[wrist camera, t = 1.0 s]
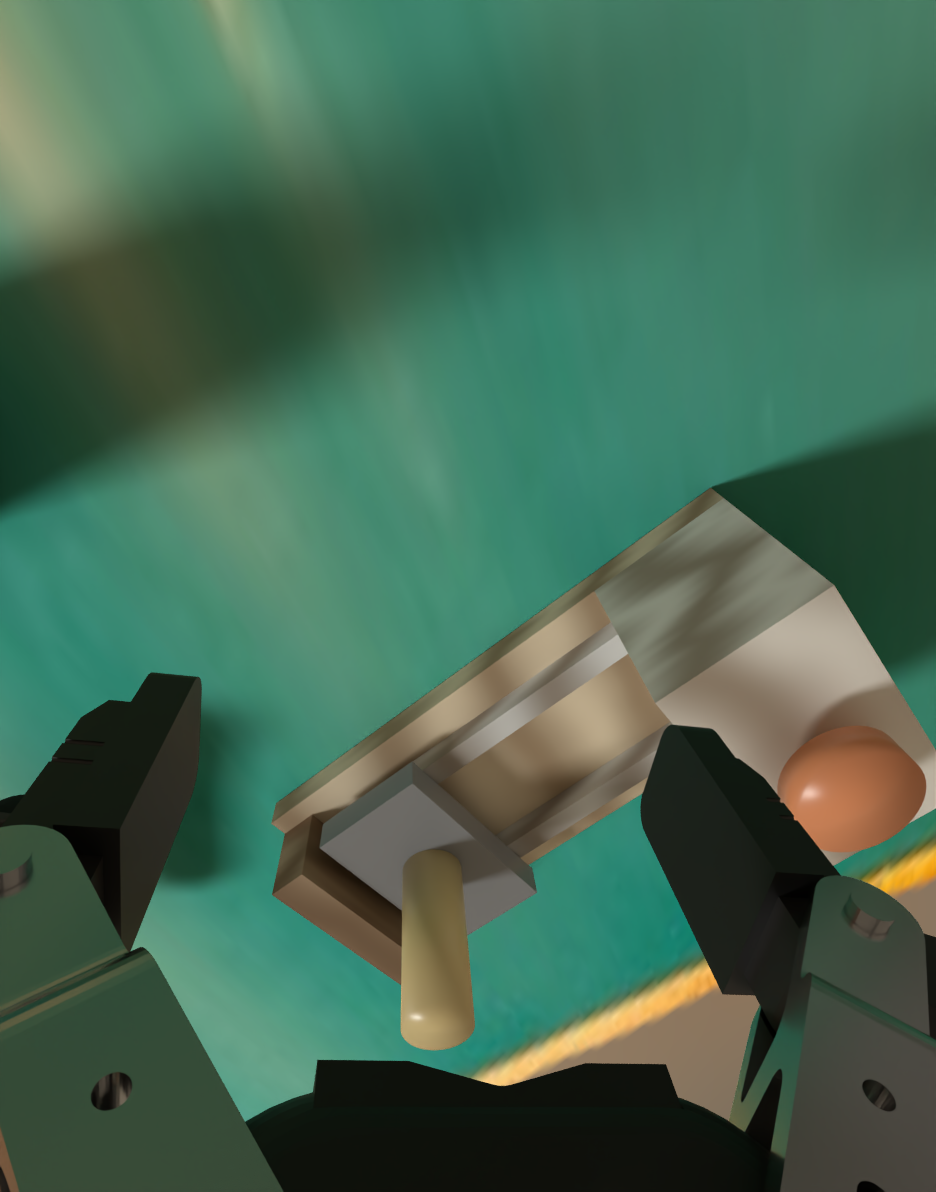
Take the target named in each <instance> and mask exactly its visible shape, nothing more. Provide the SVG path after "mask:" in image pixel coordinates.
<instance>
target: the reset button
mask: <svg viewBox="0 0 936 1192" xmlns="http://www.w3.org/2000/svg"><path fill="white" fill-rule="evenodd" d="M777 793H778V796H779V797H780V802H781V803H784V804H785V805H786V806H787V808H788V809H789V810H790V811H791V813H792V814H793V815H794V820H798V822H799V823H800V824H801V825H802V827H803V828H804V829H805V831H806V832H807V833H808V834H809V836H810V837H811V838H812V839H813V841H814V842H815V843H816V845H817V846H818V847H819V848H820V849H822V850H825V851H830V852H853V851H858V850H863V849H866V848H869V847H872V846H875V845H877V844H880V843H882V842H884V841H886V840H887V839H889V838H891V837H892V836H894V835H895V834H897V833H898V832H899V831H901V830H902V829H903V828H904V827H905V826H906V825H908V823H909V822H910V821H911V820H912V819H913V818H914V817H915V815H916V814H917V813H918V811H919V809H920V808H921V806H922V803H923V801H924V798H925V794H926V779H925V775H924V773H923V771H922V769H921V768H920V767H919V765H918V764H917V763H916V762H915V761H914V760H913V759H912V758H911V757H910V756H909V755H908V754H907V753H906V752H905V751H904V750H903V749H902V748H901V747H900V746H899V745H898V744H897V743H896V742H895V741H894V740H893V739H892V738H891V737H890V736H889V735H887V734H886V733H884V732H883V731H881V730H878V729H876V728H872V727H868V726H846V727H841V728H836V729H833V730H830V731H827V732H825V733H822V734H820V735H818V736H816V737H815V738H813V739H811V740H810V741H808V742H807V743H805V744H804V745H803V746H801V747H800V748H799V749H798V750H797V751H796V752H795V753H794V754H793V755H792V756H791V757H790V758H789V760H788V761H787V762H786V764H785V766H784V767H783V769H782V771H781V773H780V776H779V780H778V785H777Z"/></svg>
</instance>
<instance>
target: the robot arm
mask: <svg viewBox="0 0 936 1192" xmlns="http://www.w3.org/2000/svg"><path fill="white" fill-rule="evenodd" d="M201 693H202V687H201V679H200V678H199V677H193V676H183V675H173V674H163V673H153V672H152V673H150V674H149V675H148V676H147V677H146V679H145V681H144V682H143V684H142V685H141V687H140V688H139V690H138V692H137V693H136V695H135V696H134V698H133V699H132V701H131V702H125V701H114V700H108V701H107V702H105V703H104V704H102V705H100V706H99V707H97V708H96V709H94V710H92V711H91V712H89V713H87V714H86V715H84V716H83V717H81V718H80V720H79V721H78V722H77V724H76V725H75V727H74V728H73V729H72V731H71V732H70V733H69V735H68V736H67V738H66V740H65V743H62V744H61V746H60V747H59V748H58V750H57V751H56V753H55V754H54V755H53V757H52V761H51V762H48V763H47V765H46V766H45V768H44V769H43V770H42V772H41V773H40V774H39V776H38V777H37V778H36V780H35V781H34V783H33V784H32V785H31V787H30V788H29V789H28V791H27V792H26V793H25V795H24V796H23V798H22V799H21V800H20V802H19V803H18V804H17V806H16V807H15V809H14V810H13V811H12V813H11V814H10V815H9V817H8V818H7V819H6V821H5V822H4V824H3V825H2V826H1V827H0V1192H936V937H933V936H930V935H927V934H924V933H923V931H922V929H921V927H920V925H919V924H918V922H917V921H916V919H915V918H914V917H913V916H912V915H911V913H910V912H909V911H908V910H907V909H906V908H905V907H904V906H902V905H901V904H900V903H899V902H897V900H895V899H894V898H892V897H891V896H890V895H888V894H887V893H885V892H883V891H882V890H880V889H878V888H876V887H874V886H872V885H871V884H868V883H866V882H863V881H861V880H858V879H855V878H851V877H846V876H841V875H840V874H839V873H838V871H837V870H836V869H835V868H834V866H833V865H832V864H831V862H830V861H829V860H828V859H827V857H826V856H825V855H824V853H823V852H822V851H821V850H820V848H819V847H818V846H817V845H816V843H815V842H814V841H813V839H812V838H811V837H810V836H809V834H808V833H807V832H806V831H805V829H804V828H803V827H802V825H801V824H800V823H799V822H798V820H794V815H793V814H792V813H791V811H790V810H789V809H788V808H787V806H786V805H785V804H784V803H781V802H780V797H779V796H778V795H777V793H776V792H775V791H774V790H773V788H772V787H771V786H770V785H769V783H768V782H767V781H766V779H765V778H764V777H763V776H761V775H760V774H759V773H757V772H756V771H755V770H753V769H752V768H751V767H750V766H748V765H747V764H746V763H744V762H743V761H742V760H740V759H739V758H736V757H735V756H734V755H733V754H732V752H731V751H730V750H729V748H728V747H727V746H726V744H725V743H724V742H723V740H722V739H721V738H720V736H719V735H718V734H717V732H716V731H715V730H713V729H711V728H703V727H693V726H682V725H669V726H668V727H667V728H666V729H665V730H664V732H663V734H662V736H661V739H660V742H659V745H658V748H657V751H656V754H655V757H654V761H653V764H652V767H651V770H650V773H649V776H648V779H647V782H646V785H645V788H644V791H643V794H642V799H641V821H642V825H643V829H644V831H645V834H646V836H647V838H648V840H649V842H650V844H651V846H652V848H653V850H654V852H655V854H656V856H657V859H658V861H659V863H660V865H661V867H662V869H663V871H664V873H665V875H666V877H667V879H668V881H669V884H670V886H671V888H672V890H673V892H674V894H675V896H676V898H677V900H678V902H679V904H680V906H681V909H682V911H683V913H684V915H685V917H686V919H687V921H688V923H689V925H690V927H691V929H692V931H693V934H694V936H695V938H696V940H697V942H698V944H699V946H700V948H701V950H702V952H703V954H704V956H705V959H706V961H707V963H708V965H709V967H710V969H711V971H712V973H713V975H714V977H715V979H716V981H717V984H718V986H719V988H720V990H721V992H722V994H730V995H734V994H735V995H755V996H756V998H757V1000H758V1002H759V1004H760V1006H759V1008H758V1010H757V1012H756V1014H755V1016H754V1019H753V1021H752V1025H751V1029H750V1034H749V1038H748V1042H747V1046H746V1050H745V1054H744V1059H743V1063H742V1067H741V1071H740V1076H739V1080H738V1084H737V1088H736V1093H735V1097H734V1102H733V1105H732V1110H731V1114H730V1118H729V1121H728V1120H726V1119H724V1118H722V1117H720V1116H719V1115H717V1114H715V1113H713V1112H711V1111H709V1110H708V1109H705V1108H704V1107H701V1106H699V1105H696V1104H694V1103H691V1102H689V1101H687V1100H684V1099H681V1098H678V1097H677V1094H676V1091H675V1089H674V1086H673V1083H672V1080H671V1077H670V1075H669V1072H668V1069H667V1066H666V1064H596V1063H591V1064H590V1063H585V1064H582V1065H578V1066H575V1067H571V1068H568V1069H564V1070H561V1071H558V1072H554V1073H551V1074H547V1075H544V1076H540V1077H537V1078H533V1079H530V1080H526V1081H523V1082H520V1083H516V1084H513V1085H508V1086H497V1085H492V1084H489V1083H485V1082H481V1081H478V1080H474V1079H471V1078H467V1077H464V1076H460V1075H456V1074H453V1073H449V1072H446V1071H442V1070H439V1069H435V1068H431V1067H428V1066H424V1065H421V1064H417V1063H414V1062H410V1061H362V1060H317V1067H316V1075H315V1082H314V1089H313V1092H312V1093H309V1094H306V1095H302V1096H299V1097H296V1098H293V1099H290V1100H288V1101H285V1102H283V1103H281V1104H278V1105H276V1106H273V1107H271V1108H269V1109H267V1110H265V1111H263V1112H262V1113H260V1114H258V1115H256V1116H255V1117H253V1118H251V1119H249V1120H247V1121H246V1122H245V1121H244V1119H243V1118H242V1116H241V1114H240V1112H239V1110H238V1109H237V1107H236V1105H235V1103H234V1101H233V1100H232V1098H231V1096H230V1094H229V1092H228V1091H227V1089H226V1087H225V1085H224V1083H223V1082H222V1080H221V1078H220V1076H219V1074H218V1073H217V1071H216V1069H215V1067H214V1065H213V1063H212V1062H211V1060H210V1058H209V1056H208V1054H207V1053H206V1051H205V1049H204V1047H203V1045H202V1044H201V1042H200V1040H199V1038H198V1036H197V1035H196V1033H195V1031H194V1029H193V1027H192V1026H191V1024H190V1022H189V1020H188V1018H187V1017H186V1015H185V1013H184V1011H183V1009H182V1008H181V1006H180V1004H179V1002H178V1000H177V999H176V997H175V995H174V993H173V991H172V990H171V988H170V986H169V984H168V982H167V980H166V979H165V977H164V975H163V973H162V971H161V970H160V968H159V966H158V964H157V963H156V961H155V959H154V958H153V956H152V955H151V954H150V953H149V952H148V951H147V950H146V949H145V948H143V947H140V948H137V949H135V950H133V951H131V948H132V946H133V943H134V941H135V938H136V936H137V933H138V931H139V928H140V925H141V923H142V920H143V918H144V915H145V913H146V910H147V908H148V905H149V903H150V900H151V898H152V895H153V893H154V890H155V887H156V885H157V882H158V880H159V877H160V875H161V872H162V870H163V867H164V865H165V862H166V860H167V857H168V855H169V852H170V850H171V847H172V844H173V842H174V839H175V837H176V834H177V832H178V829H179V827H180V824H181V822H182V819H183V817H184V814H185V812H186V809H187V806H188V804H189V801H190V799H191V796H192V793H193V790H194V786H195V781H196V776H197V770H198V762H199V744H200V718H201ZM130 951H131V952H130Z"/></svg>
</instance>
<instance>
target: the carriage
mask: <svg viewBox="0 0 936 1192" xmlns="http://www.w3.org/2000/svg"><path fill="white" fill-rule="evenodd" d="M319 848H320V849H321V850H323V851H324V852H325V853H327V854H328V855H329V856H331V857H332V858H333V859H335V860H336V861H337V862H338V863H340V864H341V865H342V866H344V867H345V868H346V869H348V870H349V871H350V872H352V873H353V874H354V875H356V876H357V877H358V878H359V879H361V880H362V881H363V882H365V883H366V884H367V885H369V886H370V887H371V888H373V889H374V890H375V891H376V892H378V893H379V894H380V895H382V896H383V897H384V898H386V899H387V900H388V901H390V902H391V903H392V904H394V905H395V906H396V907H397V908H399V909H400V910H401V911H402V968H401V1034H402V1036H403V1038H404V1039H405V1040H406V1041H407V1042H408V1043H409V1044H411V1045H413V1046H415V1047H418V1048H421V1049H426V1050H442V1049H448V1048H451V1047H454V1046H457V1045H459V1044H461V1043H462V1042H464V1041H465V1040H467V1039H468V1038H469V1037H470V1036H471V1034H472V1033H473V1031H474V1027H475V1021H474V1009H473V998H472V986H471V974H470V963H469V951H468V939H467V935H469V934H470V933H472V932H474V931H475V930H477V929H479V928H480V927H482V926H483V925H485V924H487V923H488V922H490V921H492V920H493V919H495V918H496V917H498V916H500V915H501V914H503V913H505V912H506V911H508V910H509V909H511V908H513V907H514V906H516V905H518V904H519V903H521V902H522V901H524V900H526V899H527V898H529V897H531V896H532V895H534V894H535V893H537V890H536V885H535V880H534V875H533V870H532V868H531V867H530V866H529V865H528V864H526V863H525V862H524V861H523V860H522V859H521V858H520V857H519V856H518V855H516V854H515V853H514V852H513V851H512V850H511V849H510V848H509V847H507V846H506V845H505V844H504V843H503V842H502V841H501V840H500V839H499V838H497V837H496V836H495V835H494V834H493V833H492V832H491V831H490V830H489V829H487V828H486V827H485V826H484V825H483V824H482V823H481V822H480V821H478V820H477V819H476V818H475V817H474V816H473V815H472V814H471V813H470V812H468V811H467V810H466V809H465V808H464V807H463V806H462V805H461V804H459V803H458V802H457V801H456V800H455V799H454V798H453V797H452V796H451V795H449V794H448V793H447V792H446V791H445V790H444V789H443V788H442V787H441V786H439V785H438V784H437V783H436V782H435V781H434V780H433V779H432V778H430V777H429V776H428V775H427V774H426V773H425V772H424V771H423V770H422V769H420V768H419V767H418V766H417V765H416V764H415V763H414V762H413V761H412V762H411V763H409V764H408V765H406V766H405V767H403V768H402V769H401V770H399V771H398V772H396V773H395V774H394V775H392V776H391V777H389V778H388V779H386V780H385V781H384V782H382V783H381V784H379V785H378V786H376V787H375V788H374V789H372V790H371V791H369V792H368V793H366V794H365V795H364V796H362V797H361V798H359V799H358V800H357V801H355V802H354V803H352V804H351V805H349V806H348V807H347V808H345V809H344V810H342V811H341V812H339V813H338V814H337V815H335V816H334V817H332V818H331V819H329V820H328V821H327V822H325V823H324V824H323V827H322V834H321V841H320V847H319Z"/></svg>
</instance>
